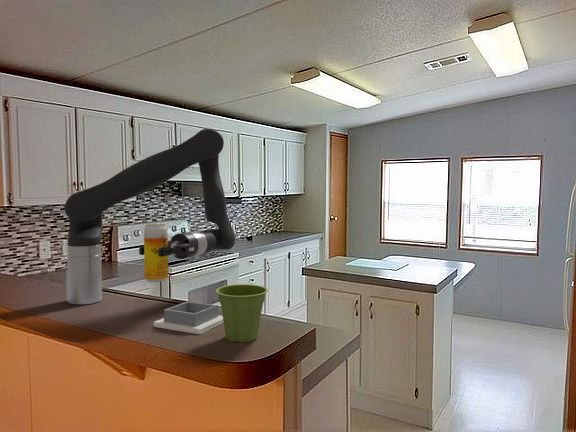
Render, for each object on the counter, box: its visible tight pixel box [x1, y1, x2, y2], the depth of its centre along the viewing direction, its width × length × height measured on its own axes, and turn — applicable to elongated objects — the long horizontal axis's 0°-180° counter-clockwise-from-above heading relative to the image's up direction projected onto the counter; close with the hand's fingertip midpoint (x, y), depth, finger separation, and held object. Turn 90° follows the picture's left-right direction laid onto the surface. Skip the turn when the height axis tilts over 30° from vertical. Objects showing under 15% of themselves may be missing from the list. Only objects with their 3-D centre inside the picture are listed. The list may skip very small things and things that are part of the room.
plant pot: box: [215, 283, 269, 343], centre depth 101 cm, size 12×12×11 cm
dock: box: [153, 300, 224, 335], centre depth 111 cm, size 14×12×4 cm
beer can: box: [143, 223, 169, 283], centre depth 118 cm, size 6×6×15 cm
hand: (150, 251), depth 116 cm, fingers closed on beer can, 6 cm apart
